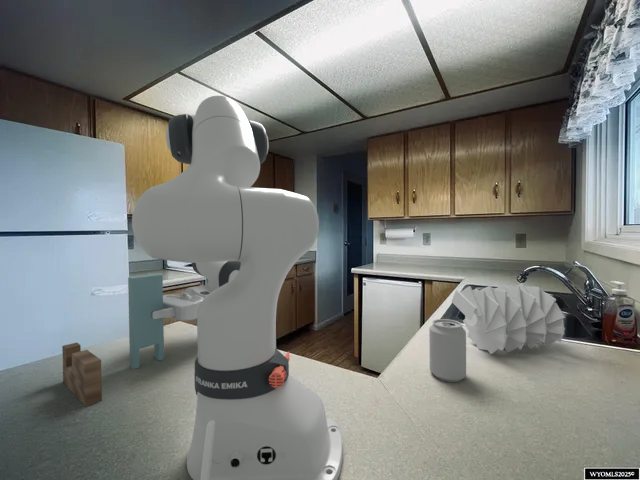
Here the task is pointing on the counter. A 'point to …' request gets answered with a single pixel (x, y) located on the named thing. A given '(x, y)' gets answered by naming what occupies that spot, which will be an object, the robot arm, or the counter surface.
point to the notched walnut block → (82, 373)
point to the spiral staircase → (510, 317)
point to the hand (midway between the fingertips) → (143, 312)
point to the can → (447, 350)
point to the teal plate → (145, 316)
